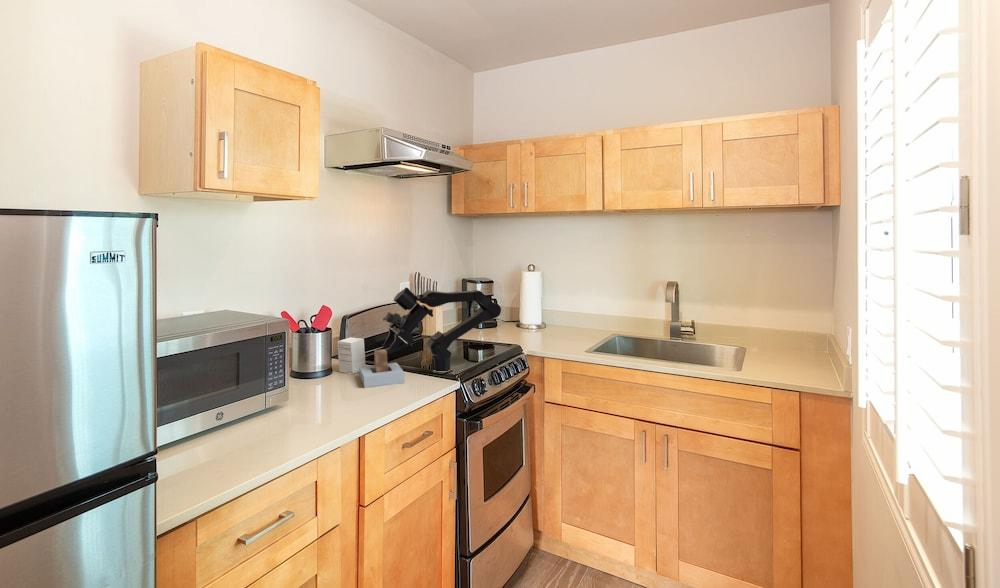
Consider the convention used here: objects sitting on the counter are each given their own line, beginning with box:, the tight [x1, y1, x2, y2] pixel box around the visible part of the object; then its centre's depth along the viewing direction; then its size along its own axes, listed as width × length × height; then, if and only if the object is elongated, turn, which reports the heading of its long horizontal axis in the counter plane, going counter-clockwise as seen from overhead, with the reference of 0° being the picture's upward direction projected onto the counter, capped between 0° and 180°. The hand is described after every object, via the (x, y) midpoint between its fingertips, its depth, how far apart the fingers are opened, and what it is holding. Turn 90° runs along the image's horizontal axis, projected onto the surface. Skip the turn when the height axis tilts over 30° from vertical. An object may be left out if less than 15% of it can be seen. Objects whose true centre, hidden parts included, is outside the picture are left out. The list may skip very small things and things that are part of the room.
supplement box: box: [336, 337, 366, 375], centre depth 189 cm, size 7×7×13 cm
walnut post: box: [373, 348, 388, 373], centre depth 177 cm, size 4×4×10 cm
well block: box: [358, 362, 405, 389], centre depth 177 cm, size 14×14×4 cm
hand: (385, 350), depth 177 cm, fingers open, 9 cm apart
